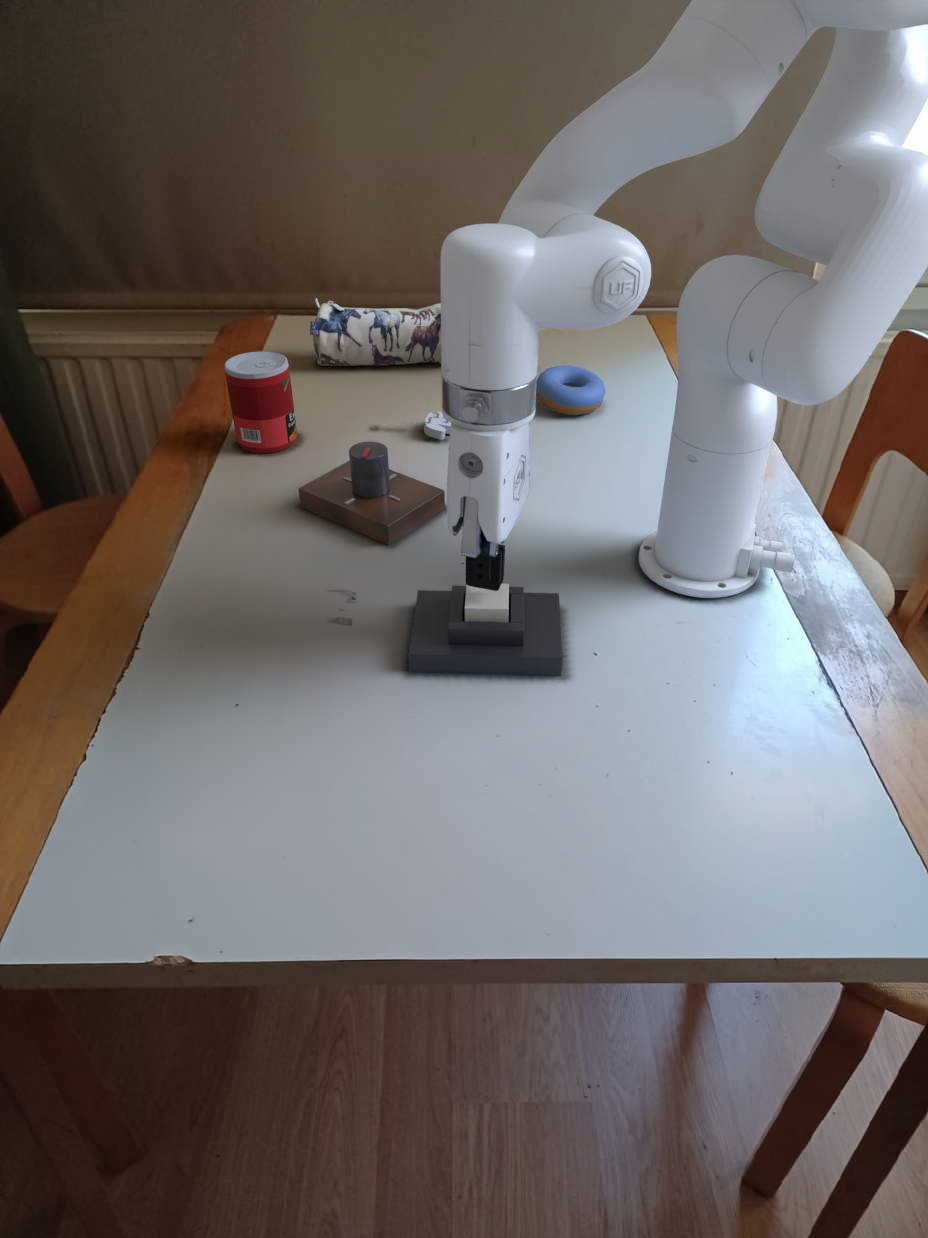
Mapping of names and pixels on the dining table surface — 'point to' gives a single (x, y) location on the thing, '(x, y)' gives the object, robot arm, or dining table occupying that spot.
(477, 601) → the white block
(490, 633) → the tiered stepped pedestal
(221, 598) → the dining table surface
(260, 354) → the canned food
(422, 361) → the pencil case
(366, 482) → the volume knob
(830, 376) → the robot arm
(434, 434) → the game controller
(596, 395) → the doughnut
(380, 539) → the panel
